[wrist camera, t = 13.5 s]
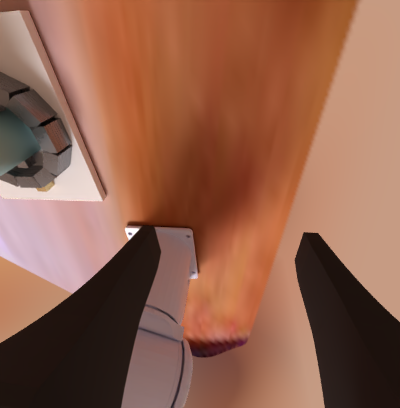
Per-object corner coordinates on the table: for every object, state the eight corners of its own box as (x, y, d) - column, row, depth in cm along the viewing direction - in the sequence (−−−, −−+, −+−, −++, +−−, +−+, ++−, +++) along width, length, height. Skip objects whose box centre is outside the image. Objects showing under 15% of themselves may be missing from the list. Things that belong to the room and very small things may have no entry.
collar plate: (106, 196, 24) (93, 214, 21) (8, 194, 25) (-13, 210, 23) (28, 10, 14) (-9, 8, 12) (-119, 26, 16) (-174, 27, 14)
